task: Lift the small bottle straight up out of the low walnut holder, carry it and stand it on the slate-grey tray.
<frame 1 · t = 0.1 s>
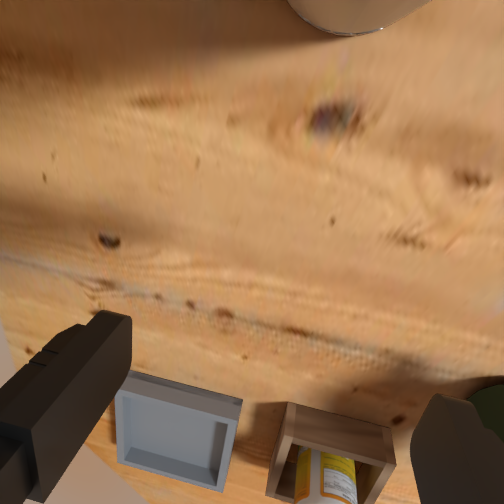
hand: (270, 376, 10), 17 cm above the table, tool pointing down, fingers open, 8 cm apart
supplement bottle: (325, 444, 36), resting in holder
tray: (180, 423, 39), on the table
character mug: (502, 401, 30), on the table
holder: (325, 446, 36), on the table
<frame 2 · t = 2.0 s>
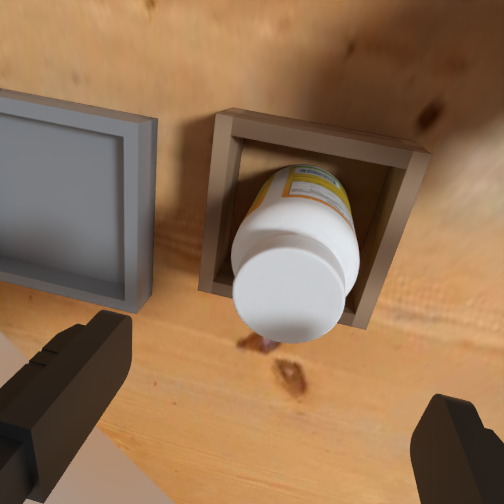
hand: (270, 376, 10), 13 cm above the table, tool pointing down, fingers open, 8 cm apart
supplement bottle: (302, 208, 21), resting in holder
tray: (67, 197, 24), on the table
holder: (302, 209, 21), on the table
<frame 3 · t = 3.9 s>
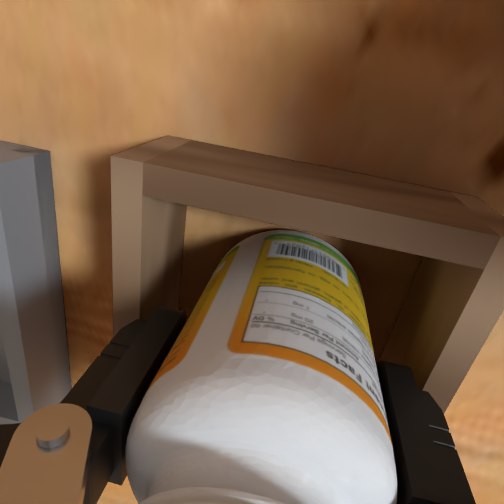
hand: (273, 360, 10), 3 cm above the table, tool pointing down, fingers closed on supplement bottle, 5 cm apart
supplement bottle: (286, 291, 13), resting in holder, touching gripper
holder: (285, 294, 13), on the table
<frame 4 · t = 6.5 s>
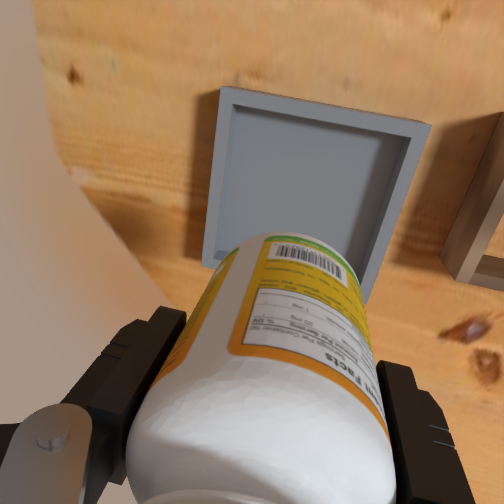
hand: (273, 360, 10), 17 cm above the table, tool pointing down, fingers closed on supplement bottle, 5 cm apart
supplement bottle: (285, 293, 14), point 13 cm above the table, touching gripper
tray: (302, 195, 25), on the table
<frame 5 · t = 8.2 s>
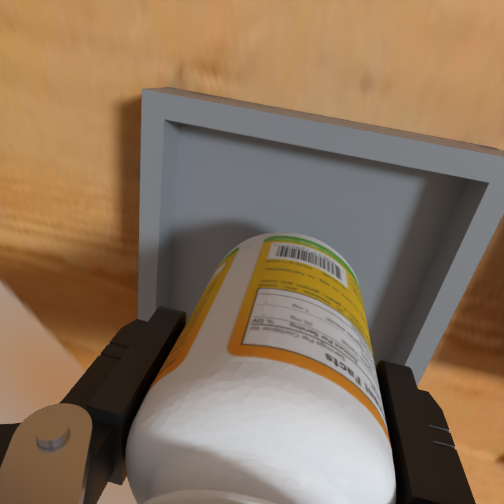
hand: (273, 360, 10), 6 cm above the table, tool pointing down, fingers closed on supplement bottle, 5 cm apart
supplement bottle: (285, 293, 14), point 3 cm above the table, touching gripper
tray: (292, 259, 16), on the table
when the fingers open (5 cm above the table, at t = 9.4 s): supplement bottle drops 1 cm, resting on tray.
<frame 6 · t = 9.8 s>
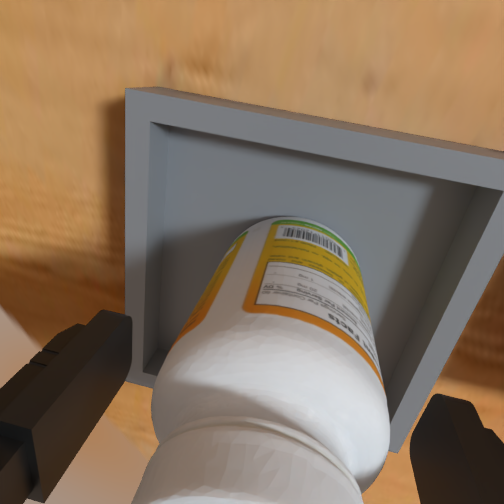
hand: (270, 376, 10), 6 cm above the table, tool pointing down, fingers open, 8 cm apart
supplement bottle: (290, 275, 14), point 1 cm above the table, touching tray
tray: (289, 269, 15), on the table
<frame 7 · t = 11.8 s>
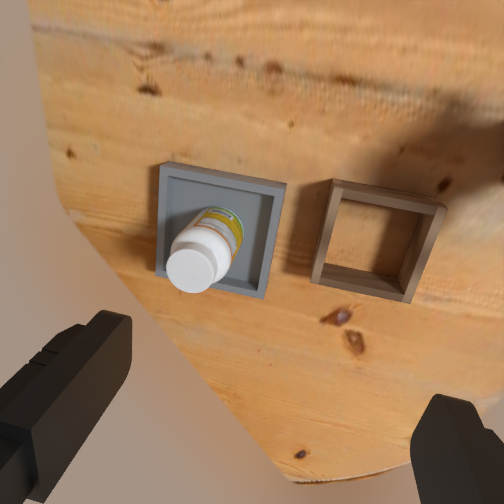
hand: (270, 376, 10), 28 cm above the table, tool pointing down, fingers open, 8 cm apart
supplement bottle: (219, 229, 38), point 1 cm above the table, touching tray
tray: (220, 228, 39), on the table
holder: (369, 234, 36), on the table
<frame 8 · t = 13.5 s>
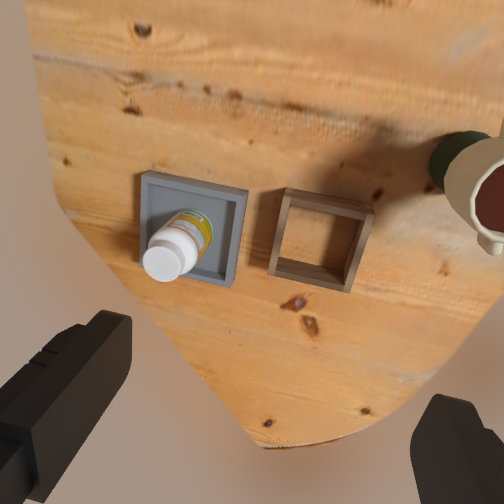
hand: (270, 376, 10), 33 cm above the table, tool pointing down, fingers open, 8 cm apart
supplement bottle: (193, 228, 45), point 1 cm above the table, touching tray
tray: (194, 226, 45), on the table
character mug: (460, 161, 37), on the table
holder: (318, 234, 43), on the table
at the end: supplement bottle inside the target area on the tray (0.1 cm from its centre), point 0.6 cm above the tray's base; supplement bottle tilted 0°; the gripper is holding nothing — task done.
